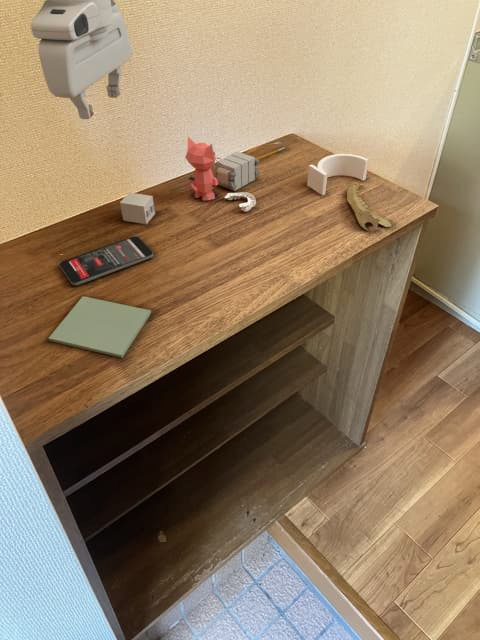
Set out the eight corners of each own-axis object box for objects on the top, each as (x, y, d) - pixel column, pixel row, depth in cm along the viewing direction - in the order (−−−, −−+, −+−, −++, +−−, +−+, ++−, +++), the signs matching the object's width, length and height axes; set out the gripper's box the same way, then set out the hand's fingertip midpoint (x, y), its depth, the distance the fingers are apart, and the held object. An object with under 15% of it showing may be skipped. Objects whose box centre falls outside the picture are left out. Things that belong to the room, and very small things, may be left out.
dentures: (243, 187, 108) (243, 194, 108) (223, 194, 106) (223, 201, 106) (263, 200, 103) (263, 206, 104) (243, 207, 101) (243, 214, 102)
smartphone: (57, 262, 90) (136, 234, 96) (58, 265, 90) (137, 238, 96) (72, 284, 85) (154, 254, 91) (73, 287, 86) (155, 257, 92)
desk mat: (49, 340, 77) (48, 338, 77) (83, 298, 84) (82, 296, 84) (122, 358, 74) (121, 355, 74) (151, 313, 81) (151, 310, 81)
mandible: (396, 226, 97) (385, 240, 99) (362, 182, 109) (353, 195, 111) (374, 216, 95) (363, 230, 96) (342, 172, 106) (333, 185, 108)
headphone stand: (324, 175, 104) (369, 159, 109) (305, 163, 108) (349, 148, 113) (322, 195, 107) (365, 179, 112) (304, 183, 111) (346, 168, 116)
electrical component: (301, 133, 118) (299, 155, 121) (280, 127, 121) (279, 148, 124) (232, 170, 104) (232, 193, 108) (210, 162, 107) (211, 185, 111)
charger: (123, 220, 101) (119, 202, 98) (132, 210, 104) (129, 192, 101) (148, 224, 100) (145, 206, 97) (156, 214, 103) (154, 196, 100)
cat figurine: (227, 194, 108) (225, 138, 99) (206, 208, 104) (202, 151, 95) (201, 184, 111) (197, 129, 103) (179, 198, 107) (173, 141, 99)
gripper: (97, -6, 84) (114, 83, 94) (22, 28, 70) (51, 129, 79) (132, -5, 83) (145, 86, 92) (63, 30, 68) (87, 133, 78)
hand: (101, 106), depth 86 cm, fingers open, 8 cm apart
